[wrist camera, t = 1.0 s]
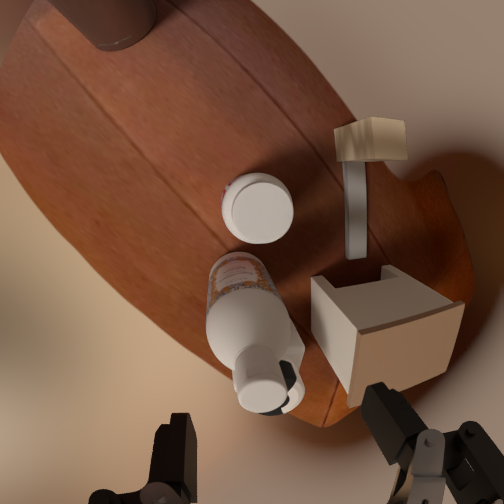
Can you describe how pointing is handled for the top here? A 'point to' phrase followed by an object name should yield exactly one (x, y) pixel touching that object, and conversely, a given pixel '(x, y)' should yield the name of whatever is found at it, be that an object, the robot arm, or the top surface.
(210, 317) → the bath foam
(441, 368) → the cabinet
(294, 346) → the medicine bottle
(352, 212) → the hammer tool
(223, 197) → the pill bottle
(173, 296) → the top surface
